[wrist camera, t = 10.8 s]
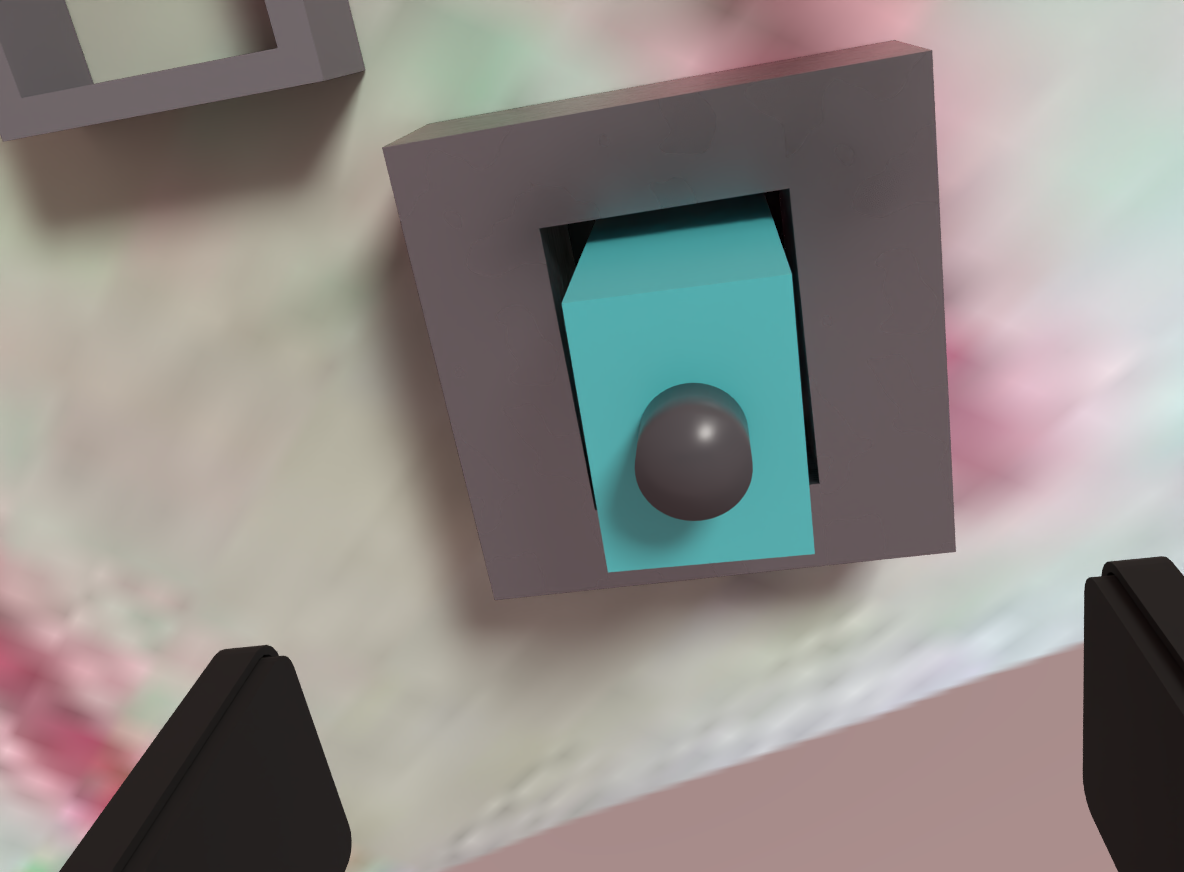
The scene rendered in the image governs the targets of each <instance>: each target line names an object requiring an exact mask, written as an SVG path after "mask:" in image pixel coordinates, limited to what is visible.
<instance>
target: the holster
mask: <svg viewBox="0 0 1184 872" xmlns="http://www.w3.org/2000/svg"><path fill="white" fill-rule="evenodd" d="M265 4H266V8H267V11H268V15H269V18H270V22H271V26H272V29H273V33H274V36H275V40H276V44H277V47H278V48H275V49H270V50H265V51H260V52H255V53H250V54H244V55H239V56H234V57H229V58H224V59H219V60H214V61H209V62H204V63H198V64H193V65H188V66H183V67H178V68H173V69H168V70H163V71H158V72H153V73H147V74H142V75H137V76H132V77H127V78H122V79H117V80H112V81H107V82H101V83H96V84H94V83H93V80H92V78H91V75H90V72H89V69H88V66H87V63H86V60H85V57H84V54H83V52H82V49H81V46H80V43H79V40H78V37H77V34H76V31H75V28H74V26H73V23H72V20H71V17H70V14H69V11H68V8H67V5H66V2H65V0H0V135H1V138H2V140H3V142H4V141H9V140H14V139H19V138H25V137H30V136H35V135H41V134H46V133H51V132H56V131H62V130H67V129H72V128H78V127H83V126H88V125H93V124H99V123H104V122H109V121H115V120H120V119H125V118H130V117H136V116H141V115H146V114H152V113H157V112H162V111H167V110H173V109H178V108H183V107H189V106H194V105H199V104H204V103H210V102H215V101H220V100H226V99H231V98H236V97H241V96H247V95H252V94H257V93H262V92H268V91H273V90H278V89H284V88H289V87H294V86H299V85H305V84H310V83H315V82H321V81H325V80H329V79H333V78H337V77H341V76H345V75H349V74H353V73H357V72H361V71H365V66H364V62H363V58H362V54H361V50H360V46H359V42H358V38H357V34H356V30H355V26H354V22H353V18H352V14H351V10H350V6H349V2H348V0H265Z"/></svg>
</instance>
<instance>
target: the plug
mask: <svg viewBox="0 0 1184 872" xmlns="http://www.w3.org/2000/svg"><path fill="white" fill-rule="evenodd" d="M562 309H563V315H564V321H565V326H566V332H567V338H568V344H569V350H570V355H571V361H572V367H573V373H574V379H575V384H576V390H577V396H578V402H579V407H580V413H581V419H582V425H583V431H584V436H585V442H586V448H587V454H588V460H589V465H590V471H591V477H592V483H593V489H594V494H595V500H596V506H597V512H598V517H599V523H600V529H601V535H602V541H603V546H604V552H605V558H606V564H607V570H608V572H618V571H630V570H641V569H652V568H663V567H675V566H686V565H697V564H708V563H720V562H731V561H742V560H753V559H765V558H776V557H787V556H798V555H810V554H815V550H814V538H813V525H812V513H811V501H810V489H809V477H808V465H807V452H806V440H805V428H804V416H803V404H802V392H801V379H800V367H799V355H798V343H797V331H796V318H795V306H794V294H793V282H792V273H791V270H790V267H789V264H788V261H787V258H786V256H785V253H784V250H783V247H782V244H781V241H780V238H779V235H778V232H777V229H776V226H775V223H774V221H773V218H772V215H771V212H770V209H769V206H768V203H767V200H766V197H765V194H764V192H763V193H757V194H750V195H744V196H738V197H732V198H726V199H719V200H713V201H707V202H701V203H694V204H688V205H682V206H676V207H670V208H663V209H657V210H651V211H645V212H638V213H632V214H626V215H620V216H613V217H607V218H601V219H596V221H595V223H594V226H593V228H592V231H591V233H590V236H589V238H588V240H587V243H586V245H585V248H584V250H583V253H582V255H581V257H580V260H579V262H578V265H577V267H576V270H575V272H574V274H573V277H572V279H571V282H570V284H569V287H568V289H567V291H566V294H565V296H564V299H563V301H562Z"/></svg>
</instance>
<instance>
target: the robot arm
mask: <svg viewBox="0 0 1184 872" xmlns="http://www.w3.org/2000/svg"><path fill="white" fill-rule="evenodd" d="M1083 702H1084V703H1083V705H1084V706H1083V707H1084V708H1083V712H1084V713H1083V784H1084V791H1085V795H1086V800H1087V804H1088V807H1089V810H1090V812H1091V815H1092V817H1093V819H1094V822H1095V824H1096V826H1097V828H1098V830H1099V832H1100V834H1101V836H1102V838H1103V841H1104V843H1105V845H1106V847H1107V849H1108V851H1109V853H1110V855H1111V857H1112V859H1113V861H1114V864H1115V866H1116V868H1117V870H1118V872H1184V576H1183V575H1182V573H1181V572H1180V571H1179V570H1178V568H1177V567H1176V566H1175V565H1174V564H1173V562H1172V561H1171V560H1169V559H1168V558H1167V557H1162V556H1161V557H1151V558H1141V559H1130V560H1120V561H1110V562H1107V563H1106V564H1105V565H1104V567H1103V570H1102V576H1100V577H1090V578H1088V579H1087V580H1086V583H1085V590H1084V700H1083ZM351 841H352V840H351V831H350V827H349V824H348V821H347V818H346V815H345V812H344V809H343V807H342V804H341V801H340V798H339V795H338V792H337V789H336V786H335V784H334V781H333V778H332V775H331V772H330V769H329V766H328V763H327V760H326V758H325V755H324V752H323V749H322V746H321V743H320V740H319V737H318V735H317V732H316V729H315V726H314V723H313V720H312V717H311V714H310V712H309V709H308V706H307V703H306V700H305V697H304V694H303V691H302V689H301V686H300V683H299V680H298V677H297V674H296V671H295V668H294V666H293V664H292V662H291V660H290V659H289V658H288V657H286V656H279V655H278V653H277V651H276V650H275V649H274V648H273V647H271V646H268V645H262V646H252V647H242V648H232V649H224V650H221V651H219V652H218V653H217V654H216V655H215V656H214V657H213V659H212V660H211V662H210V663H209V664H208V666H207V667H206V669H205V670H204V671H203V673H202V674H201V675H200V677H199V678H198V680H197V681H196V682H195V684H194V685H193V687H192V688H191V689H190V691H189V692H188V694H187V695H186V696H185V698H184V699H183V700H182V702H181V703H180V705H179V706H178V707H177V709H176V710H175V712H174V713H173V714H172V716H171V717H170V718H169V720H168V721H167V723H166V724H165V725H164V727H163V728H162V730H161V731H160V732H159V734H158V735H157V737H156V738H155V739H154V741H153V742H152V743H151V745H150V746H149V748H148V749H147V750H146V752H145V753H144V755H143V756H142V757H141V759H140V760H139V762H138V763H137V764H136V766H135V767H134V768H133V770H132V771H131V773H130V774H129V775H128V777H127V778H126V780H125V781H124V782H123V784H122V785H121V787H120V788H119V789H118V791H117V792H116V793H115V795H114V796H113V798H112V799H111V800H110V802H109V803H108V805H107V806H106V807H105V809H104V810H103V812H102V813H101V814H100V816H99V817H98V818H97V820H96V821H95V823H94V824H93V825H92V827H91V828H90V830H89V831H88V832H87V834H86V835H85V837H84V838H83V839H82V841H81V842H80V843H79V845H78V846H77V848H76V849H75V850H74V852H73V853H72V855H71V856H70V857H69V859H68V860H67V861H66V863H65V864H64V866H63V867H62V868H61V870H60V871H59V872H345V870H346V867H347V865H348V862H349V858H350V854H351Z"/></svg>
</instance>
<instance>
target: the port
mask: <svg viewBox="0 0 1184 872" xmlns="http://www.w3.org/2000/svg"><path fill="white" fill-rule="evenodd" d="M382 149H383V153H384V157H385V161H386V165H387V169H388V173H389V177H390V181H391V185H392V189H393V193H394V197H395V201H396V205H397V209H398V213H399V217H400V221H401V225H402V229H403V233H404V237H405V241H406V245H407V249H408V253H409V258H410V262H411V266H412V270H413V274H414V278H415V282H416V286H417V290H418V294H419V298H420V302H421V306H422V310H423V314H424V318H425V322H426V326H427V330H428V334H429V338H430V342H431V346H432V350H433V354H434V358H435V362H436V366H437V370H438V374H439V378H440V382H441V386H442V390H443V394H444V398H445V402H446V406H447V410H448V414H449V418H450V422H451V426H452V430H453V434H454V438H455V442H456V446H457V450H458V454H459V458H460V462H461V466H462V470H463V474H464V478H465V482H466V486H467V490H468V495H469V499H470V503H471V507H472V511H473V515H474V519H475V523H476V527H477V531H478V535H479V539H480V543H481V547H482V551H483V555H484V559H485V563H486V567H487V571H488V575H489V579H490V583H491V587H492V591H493V595H494V599H495V600H500V599H510V598H519V597H529V596H538V595H548V594H557V593H567V592H576V591H586V590H595V589H605V588H615V587H624V586H634V585H643V584H653V583H662V582H672V581H681V580H691V579H701V578H710V577H720V576H729V575H739V574H748V573H758V572H767V571H777V570H787V569H796V568H806V567H815V566H825V565H834V564H844V563H853V562H863V561H872V560H882V559H892V558H901V557H911V556H920V555H930V554H939V553H949V552H956V546H955V525H954V503H953V482H952V461H951V440H950V419H949V397H948V376H947V355H946V334H945V313H944V292H943V270H942V249H941V228H940V207H939V186H938V164H937V143H936V122H935V101H934V80H933V58H932V50H929V49H926V48H922V47H918V46H914V45H911V44H907V43H903V42H899V41H896V40H893V41H888V42H882V43H876V44H871V45H865V46H860V47H854V48H849V49H843V50H837V51H832V52H826V53H821V54H815V55H810V56H804V57H798V58H793V59H787V60H782V61H776V62H771V63H765V64H759V65H754V66H748V67H743V68H737V69H732V70H726V71H721V72H715V73H709V74H704V75H698V76H693V77H687V78H682V79H676V80H670V81H665V82H659V83H654V84H648V85H643V86H637V87H631V88H626V89H620V90H615V91H609V92H604V93H598V94H592V95H587V96H581V97H576V98H570V99H565V100H559V101H553V102H548V103H542V104H537V105H531V106H526V107H520V108H514V109H509V110H503V111H498V112H492V113H487V114H481V115H475V116H470V117H464V118H459V119H453V120H448V121H442V122H436V123H431V124H427V125H425V126H423V127H421V128H419V129H417V130H415V131H413V132H412V133H410V134H408V135H406V136H404V137H402V138H400V139H398V140H396V141H394V142H392V143H390V144H388V145H386V146H384V147H382ZM775 190H779V198H780V208H781V217H782V226H783V236H784V245H785V255H786V258H787V261H788V264H789V267H790V270H791V273H792V282H793V294H794V306H795V318H796V331H797V343H798V355H799V367H800V379H801V392H802V404H803V416H804V428H805V440H806V452H807V465H808V477H809V489H810V501H811V513H812V525H813V538H814V550H815V554H810V555H798V556H787V557H776V558H765V559H753V560H742V561H731V562H720V563H708V564H697V565H686V566H675V567H663V568H652V569H641V570H630V571H618V572H608V570H607V564H606V558H605V552H604V546H603V541H602V535H601V529H600V523H599V517H598V512H597V506H596V500H595V494H594V489H593V483H592V477H591V471H590V465H589V460H588V454H587V448H586V442H585V436H584V431H583V425H582V419H581V413H580V407H579V402H578V396H577V390H576V384H575V379H574V373H573V367H572V361H571V355H570V350H569V344H568V338H567V332H566V326H565V321H564V315H563V309H562V301H563V299H564V296H565V294H566V291H567V289H568V287H569V284H570V282H571V279H572V277H573V274H574V272H575V270H576V267H575V262H574V257H573V251H572V246H571V241H570V235H569V230H568V225H567V224H570V223H576V222H582V221H589V220H595V219H601V218H607V217H613V216H620V215H626V214H632V213H638V212H645V211H651V210H657V209H663V208H670V207H676V206H682V205H688V204H694V203H701V202H707V201H713V200H719V199H726V198H732V197H738V196H744V195H750V194H757V193H763V192H769V191H775Z"/></svg>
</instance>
